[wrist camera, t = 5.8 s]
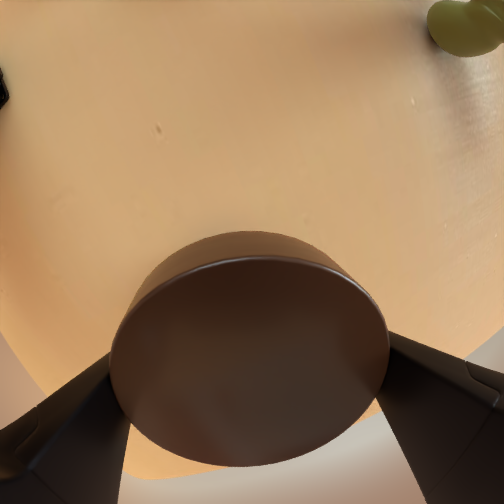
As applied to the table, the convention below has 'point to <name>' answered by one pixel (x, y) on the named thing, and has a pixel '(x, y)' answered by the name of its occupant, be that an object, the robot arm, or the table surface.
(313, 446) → the walnut chip
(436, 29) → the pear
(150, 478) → the table surface
